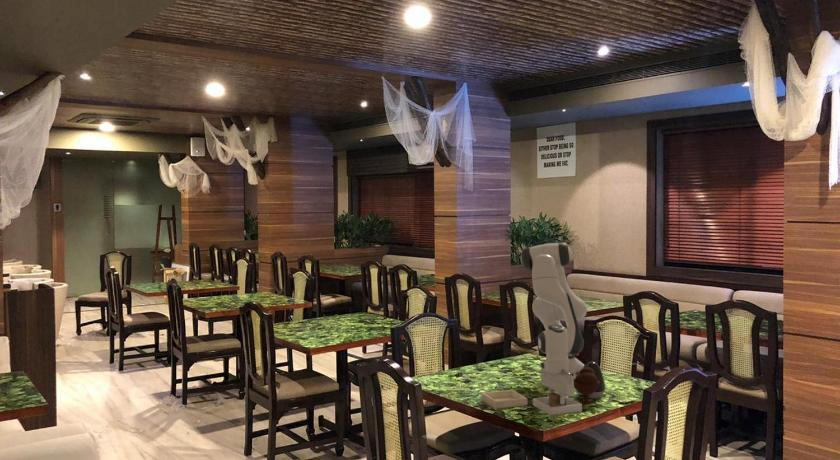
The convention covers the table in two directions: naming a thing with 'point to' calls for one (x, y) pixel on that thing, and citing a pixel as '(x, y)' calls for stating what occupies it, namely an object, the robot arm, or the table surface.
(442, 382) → the table surface
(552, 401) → the walnut block
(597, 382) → the ice cream bowl
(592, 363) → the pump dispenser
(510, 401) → the cream bin
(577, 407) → the grey bin
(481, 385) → the table surface
